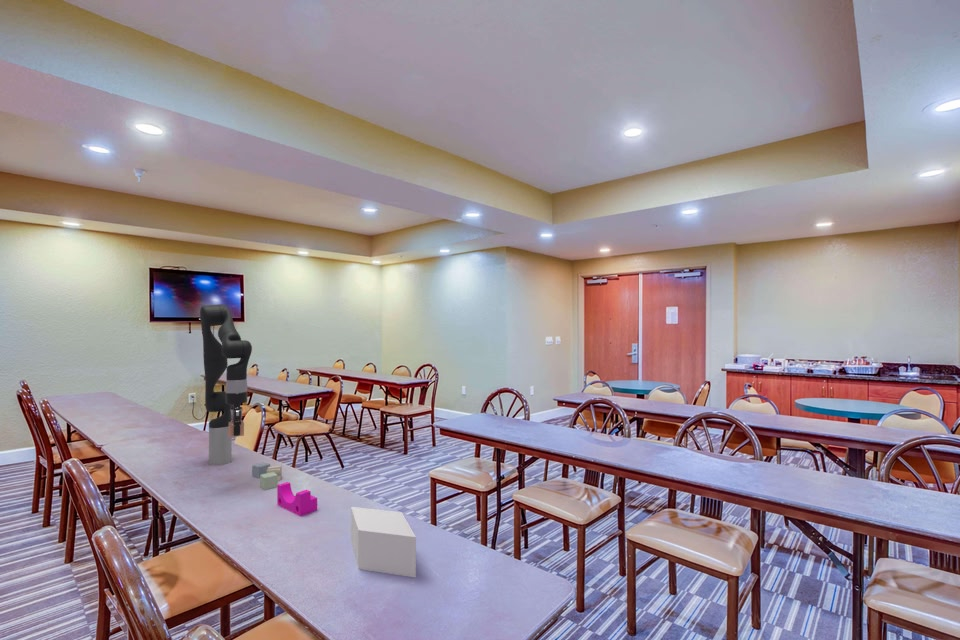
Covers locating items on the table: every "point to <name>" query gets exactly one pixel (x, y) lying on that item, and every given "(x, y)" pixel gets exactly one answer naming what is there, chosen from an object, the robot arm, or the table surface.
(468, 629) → the table surface
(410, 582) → the table surface
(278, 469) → the cube cream
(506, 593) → the table surface
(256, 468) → the cube slate
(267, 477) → the cube sage
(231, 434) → the cube terracotta
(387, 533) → the white rectangular block
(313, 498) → the toy block
